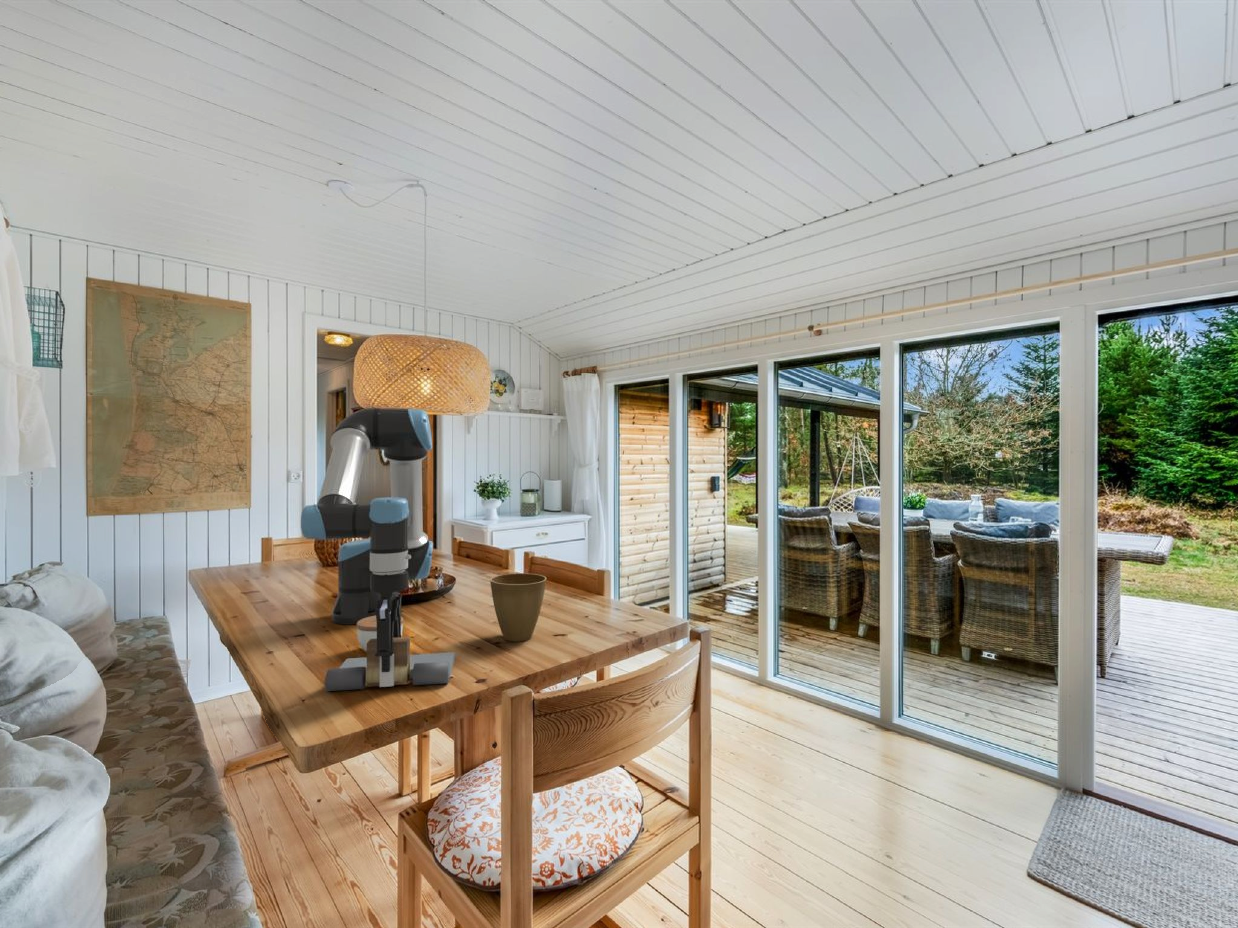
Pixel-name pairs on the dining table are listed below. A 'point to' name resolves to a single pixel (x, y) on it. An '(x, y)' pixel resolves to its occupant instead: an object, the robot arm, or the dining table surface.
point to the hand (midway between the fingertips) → (389, 680)
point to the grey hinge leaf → (421, 671)
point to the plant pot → (517, 603)
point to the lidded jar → (368, 630)
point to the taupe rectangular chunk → (400, 662)
